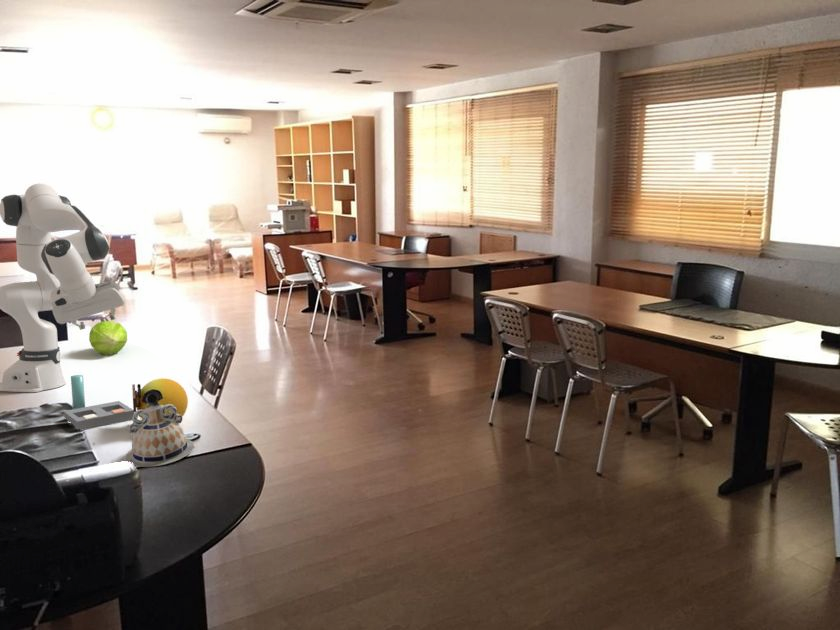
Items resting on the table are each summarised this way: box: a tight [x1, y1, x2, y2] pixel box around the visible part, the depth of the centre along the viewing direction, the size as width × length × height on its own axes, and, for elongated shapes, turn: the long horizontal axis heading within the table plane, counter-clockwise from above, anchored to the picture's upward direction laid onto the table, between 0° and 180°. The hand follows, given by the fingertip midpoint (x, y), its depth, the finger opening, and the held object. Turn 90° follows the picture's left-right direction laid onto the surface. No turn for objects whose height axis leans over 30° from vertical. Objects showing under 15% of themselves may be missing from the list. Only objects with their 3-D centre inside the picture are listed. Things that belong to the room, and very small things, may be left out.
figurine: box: [124, 389, 195, 468], centre depth 187 cm, size 18×18×20 cm
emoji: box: [131, 377, 189, 420], centre depth 210 cm, size 16×16×15 cm
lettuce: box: [88, 320, 128, 356], centre depth 301 cm, size 15×23×16 cm
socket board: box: [63, 400, 135, 431], centre depth 215 cm, size 13×17×3 cm
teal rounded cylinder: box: [70, 374, 86, 409], centre depth 222 cm, size 4×4×12 cm
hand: (98, 323), depth 214 cm, fingers open, 8 cm apart
